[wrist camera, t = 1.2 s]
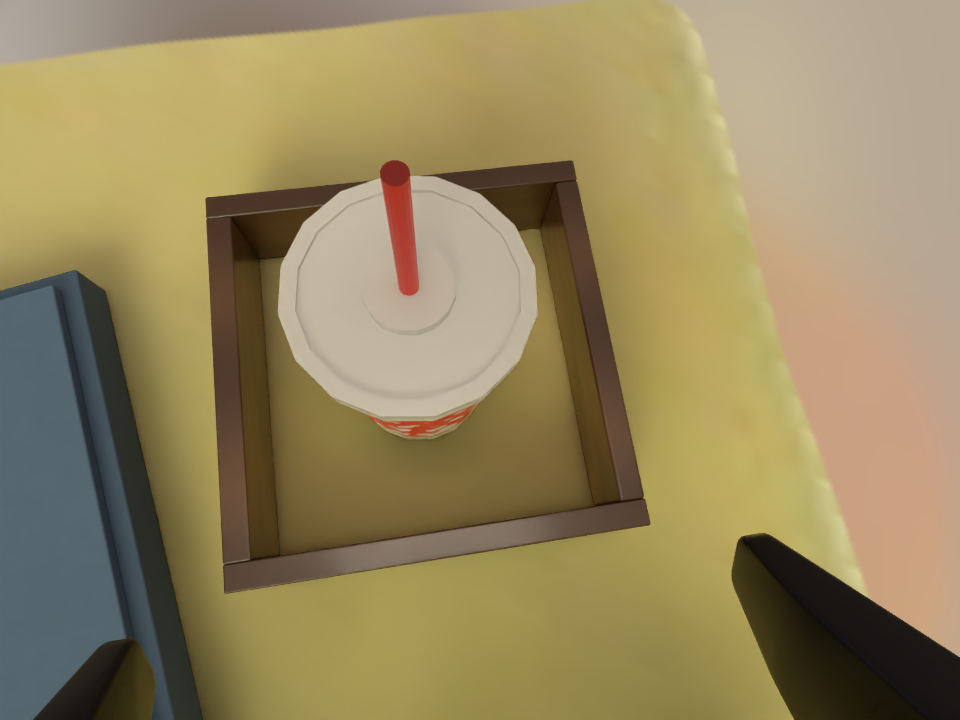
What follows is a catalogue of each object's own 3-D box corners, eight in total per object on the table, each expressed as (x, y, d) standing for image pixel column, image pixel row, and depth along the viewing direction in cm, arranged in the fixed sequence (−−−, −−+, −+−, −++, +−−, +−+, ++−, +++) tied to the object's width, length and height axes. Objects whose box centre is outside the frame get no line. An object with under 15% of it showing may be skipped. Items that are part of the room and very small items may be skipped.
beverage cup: (487, 476, 23) (555, 394, 9) (318, 444, 23) (142, 315, 9) (515, 317, 24) (607, 52, 11) (357, 287, 24) (257, -16, 11)
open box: (619, 526, 23) (651, 524, 19) (257, 584, 21) (223, 594, 18) (555, 208, 26) (573, 159, 22) (236, 242, 25) (204, 196, 21)
